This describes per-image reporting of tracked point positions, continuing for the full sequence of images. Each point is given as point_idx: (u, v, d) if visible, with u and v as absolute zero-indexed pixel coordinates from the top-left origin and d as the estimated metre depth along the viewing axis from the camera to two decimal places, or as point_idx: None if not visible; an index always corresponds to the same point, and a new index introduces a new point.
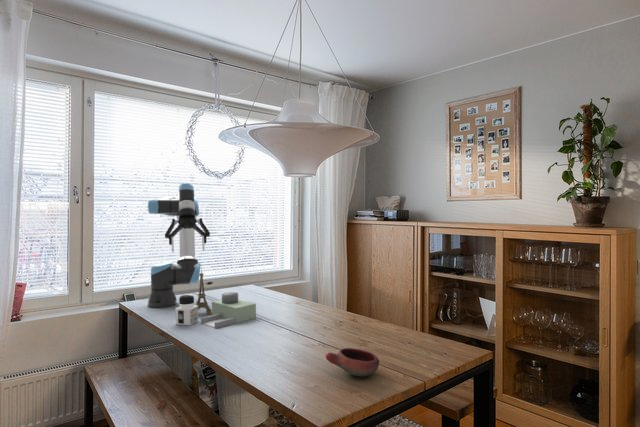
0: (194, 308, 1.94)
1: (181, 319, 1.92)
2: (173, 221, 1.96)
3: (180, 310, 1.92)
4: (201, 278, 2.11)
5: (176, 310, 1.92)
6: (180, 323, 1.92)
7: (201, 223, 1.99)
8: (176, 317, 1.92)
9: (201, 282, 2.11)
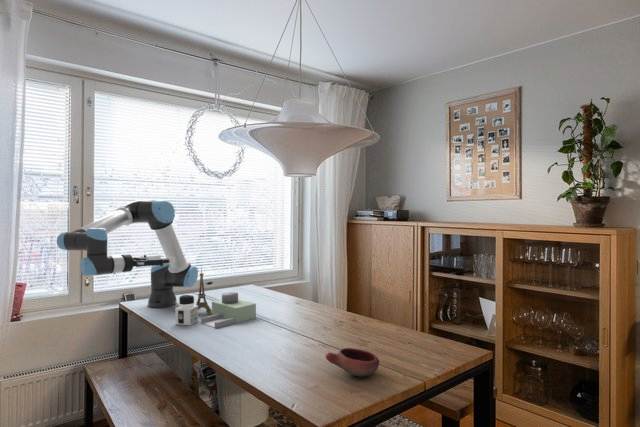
0: (194, 308, 1.94)
1: (181, 319, 1.92)
2: None
3: (180, 310, 1.92)
4: (201, 278, 2.11)
5: (176, 310, 1.92)
6: (180, 323, 1.92)
7: (146, 265, 1.80)
8: (176, 317, 1.92)
9: (201, 282, 2.11)
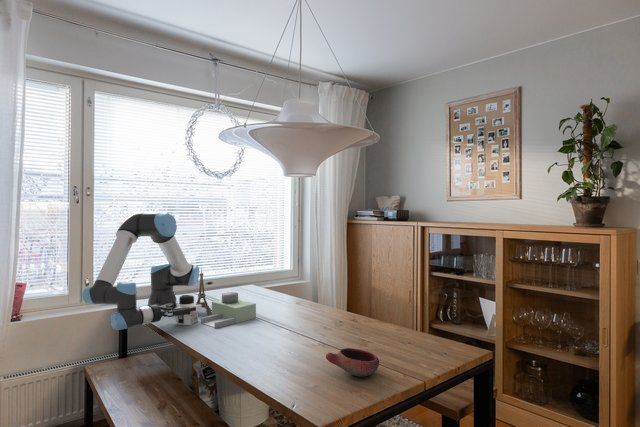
0: None
1: (181, 319, 1.92)
2: None
3: None
4: (201, 278, 2.11)
5: None
6: (180, 323, 1.92)
7: (174, 315, 1.84)
8: (176, 317, 1.92)
9: (201, 282, 2.11)
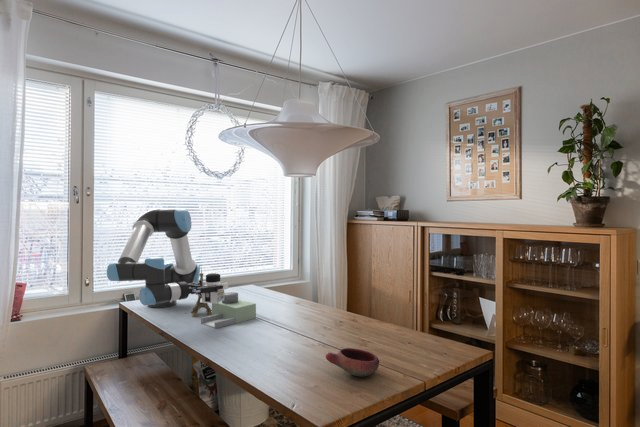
0: None
1: (208, 298, 1.89)
2: None
3: None
4: (201, 278, 2.11)
5: None
6: (207, 301, 1.89)
7: (201, 292, 1.81)
8: (203, 295, 1.89)
9: None
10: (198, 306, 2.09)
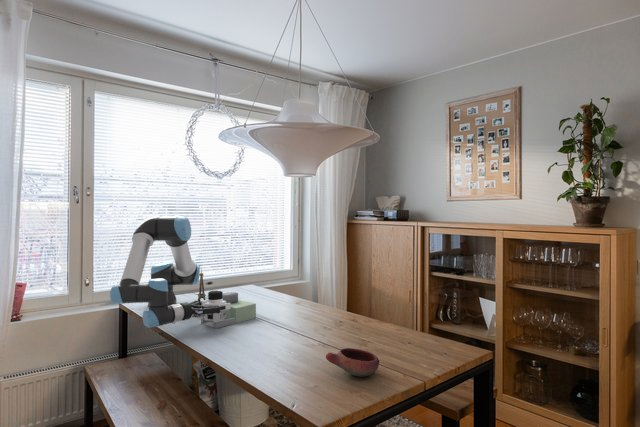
0: None
1: (210, 315, 1.89)
2: None
3: (209, 305, 1.89)
4: (201, 278, 2.11)
5: (205, 305, 1.90)
6: (209, 319, 1.89)
7: (204, 313, 1.81)
8: None
9: (201, 282, 2.11)
10: None
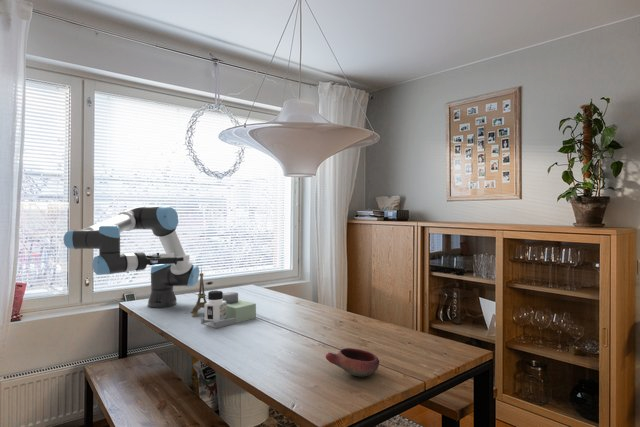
0: (223, 304, 1.92)
1: (210, 315, 1.89)
2: None
3: (209, 305, 1.89)
4: (201, 278, 2.11)
5: (205, 305, 1.90)
6: (209, 319, 1.89)
7: (159, 264, 1.74)
8: (205, 313, 1.90)
9: (201, 282, 2.11)
10: (198, 306, 2.09)
